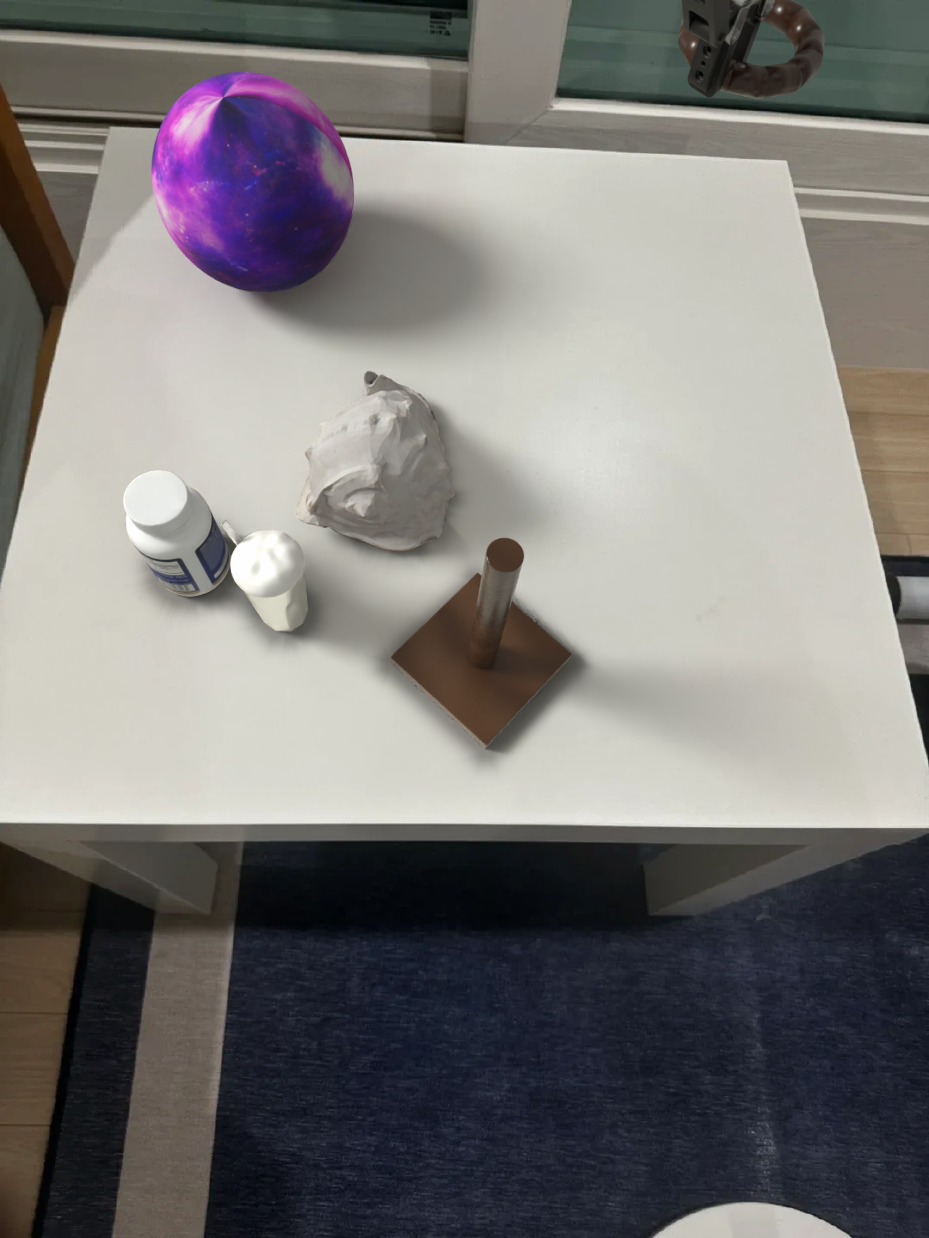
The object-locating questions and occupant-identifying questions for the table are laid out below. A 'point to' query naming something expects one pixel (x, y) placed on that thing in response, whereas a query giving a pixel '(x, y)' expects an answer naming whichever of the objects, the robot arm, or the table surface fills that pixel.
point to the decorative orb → (252, 182)
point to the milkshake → (271, 576)
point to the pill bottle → (175, 533)
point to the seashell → (379, 470)
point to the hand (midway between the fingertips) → (714, 79)
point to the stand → (483, 650)
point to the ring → (778, 76)
